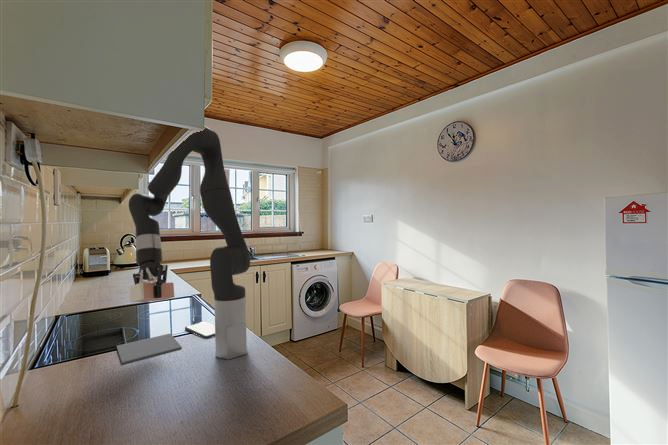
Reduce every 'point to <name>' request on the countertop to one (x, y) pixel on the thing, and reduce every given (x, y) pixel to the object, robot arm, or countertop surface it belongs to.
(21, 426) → the countertop surface
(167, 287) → the terracotta block
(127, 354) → the charcoal mat
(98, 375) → the countertop surface
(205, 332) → the phone case
